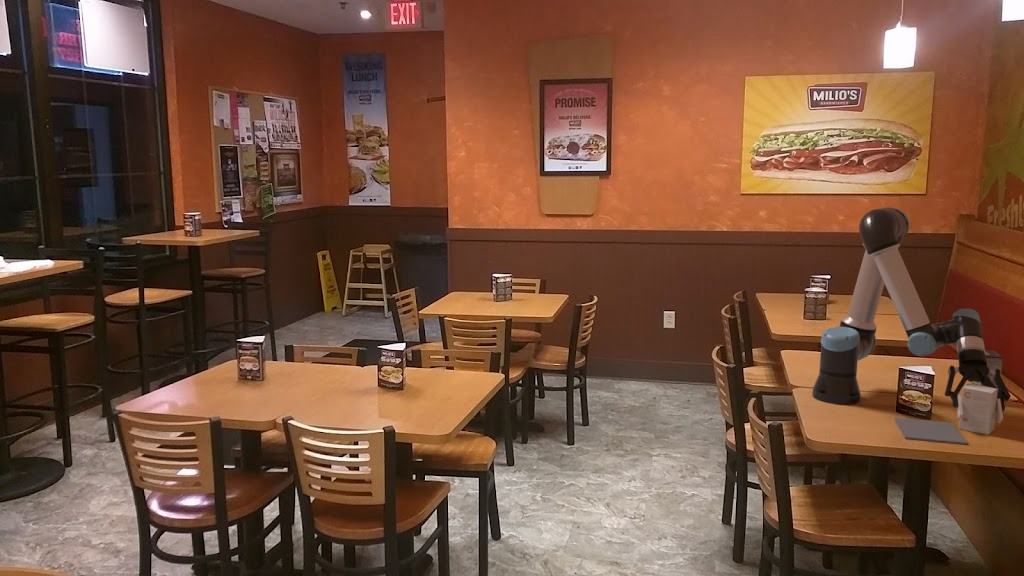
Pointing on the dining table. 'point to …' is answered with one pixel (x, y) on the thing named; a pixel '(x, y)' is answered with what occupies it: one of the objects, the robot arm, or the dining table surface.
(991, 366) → the coffee box
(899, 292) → the robot arm
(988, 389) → the small box
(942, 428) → the slate mat
